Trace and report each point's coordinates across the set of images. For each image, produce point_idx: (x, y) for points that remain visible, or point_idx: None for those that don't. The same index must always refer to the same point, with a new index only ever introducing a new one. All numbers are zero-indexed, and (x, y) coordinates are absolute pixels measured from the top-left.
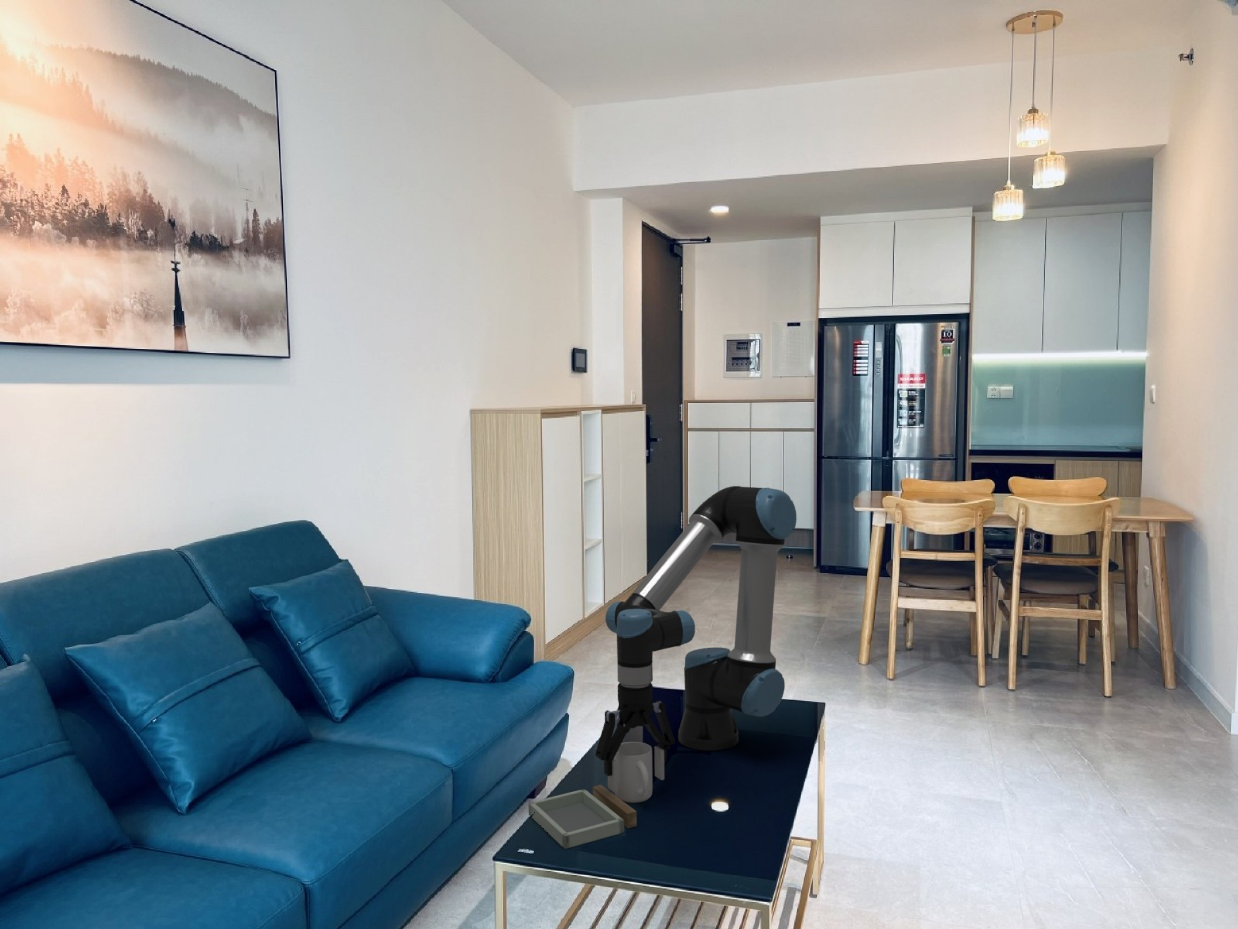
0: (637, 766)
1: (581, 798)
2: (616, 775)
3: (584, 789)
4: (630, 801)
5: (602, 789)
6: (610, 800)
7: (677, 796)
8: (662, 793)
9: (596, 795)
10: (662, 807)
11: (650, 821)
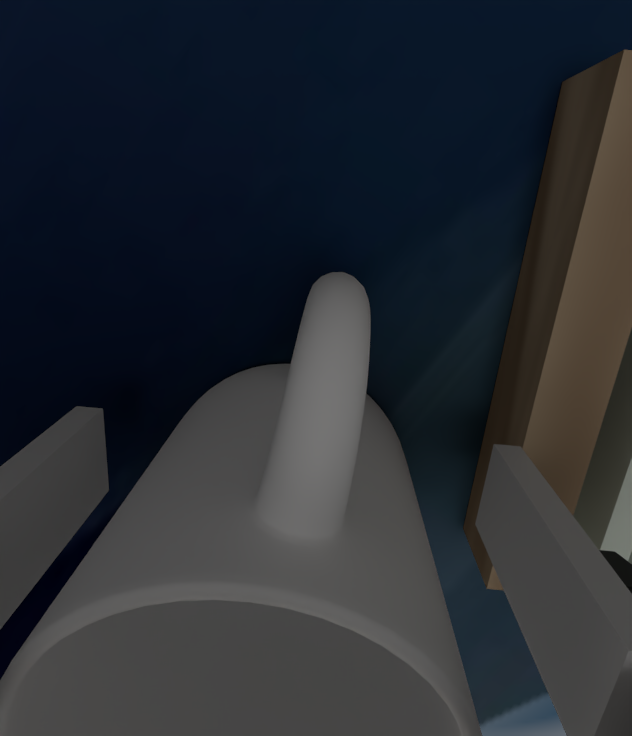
0: (348, 492)
1: None
2: (548, 523)
3: None
4: (368, 396)
5: None
6: (619, 366)
7: (65, 299)
8: (128, 387)
9: None
10: (235, 225)
11: (433, 89)
